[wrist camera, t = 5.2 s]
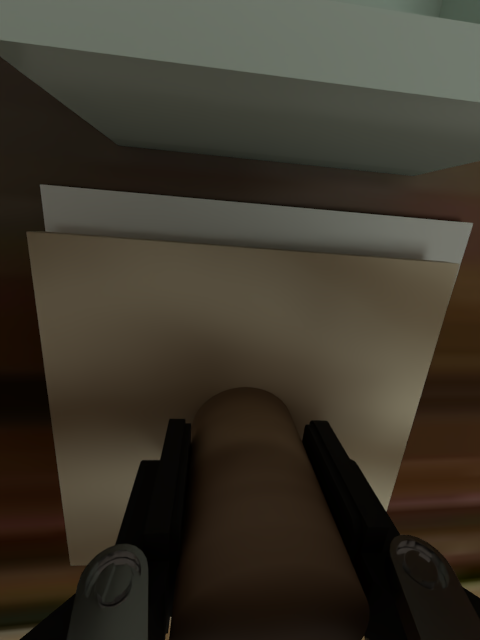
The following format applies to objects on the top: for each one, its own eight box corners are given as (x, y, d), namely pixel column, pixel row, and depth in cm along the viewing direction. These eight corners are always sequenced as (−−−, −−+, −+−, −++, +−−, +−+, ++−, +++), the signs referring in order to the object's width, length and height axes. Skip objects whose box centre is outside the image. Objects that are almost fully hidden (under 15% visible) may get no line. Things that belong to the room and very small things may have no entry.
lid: (365, 537, 15) (479, 769, 9) (78, 546, 14) (-42, 835, 7) (442, 261, 11) (771, 312, 5) (41, 231, 9) (-327, 243, 3)
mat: (374, 513, 17) (379, 523, 17) (86, 515, 16) (81, 526, 15) (461, 222, 12) (473, 223, 12) (49, 186, 11) (39, 184, 10)
